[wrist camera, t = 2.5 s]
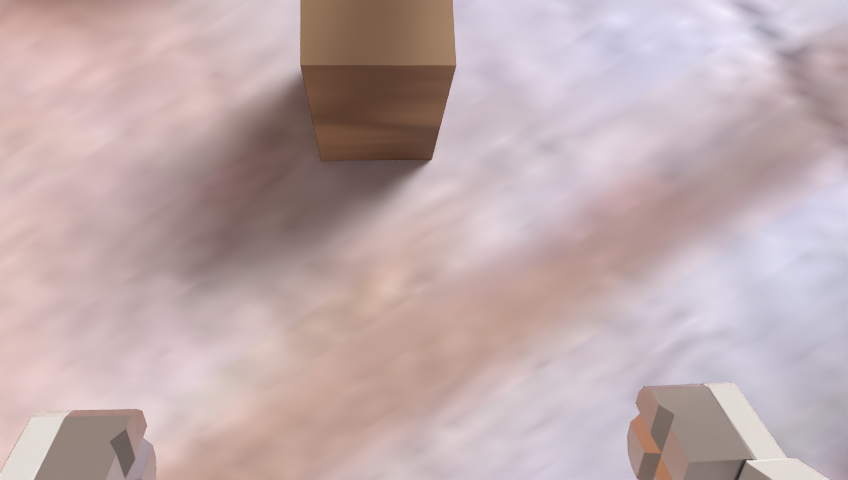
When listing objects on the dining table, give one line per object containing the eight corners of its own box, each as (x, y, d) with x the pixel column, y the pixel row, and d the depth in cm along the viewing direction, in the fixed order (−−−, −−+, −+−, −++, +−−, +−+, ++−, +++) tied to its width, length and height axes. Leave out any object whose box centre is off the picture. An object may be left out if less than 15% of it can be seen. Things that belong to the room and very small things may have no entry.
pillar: (427, 59, 28) (448, -69, 20) (431, 159, 27) (456, 64, 19) (320, 59, 28) (300, -71, 20) (321, 160, 27) (300, 65, 19)
